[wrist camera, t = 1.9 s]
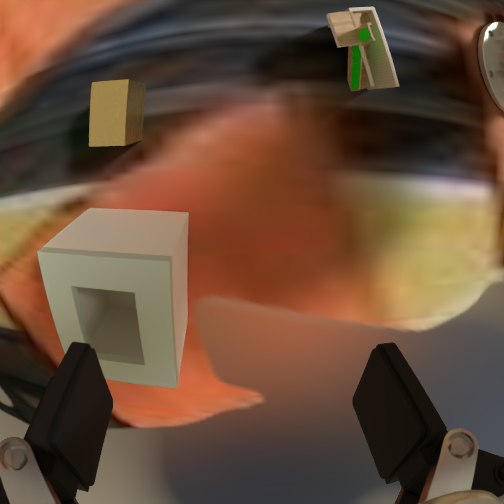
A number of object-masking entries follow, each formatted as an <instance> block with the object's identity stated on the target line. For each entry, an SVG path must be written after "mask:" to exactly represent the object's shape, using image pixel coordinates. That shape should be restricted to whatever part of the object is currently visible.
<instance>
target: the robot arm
mask: <svg viewBox="0 0 504 504" xmlns="http://www.w3.org/2000/svg"><path fill="white" fill-rule="evenodd" d="M478 56H479V64H480V68H481V73H482V76H483V79H484V82H485V84H486V87H487V89H488V91H489V93H490V95H491V97H492V98H493V100H494V102H495V103H496V104H497V106H498V107H499V108H500V109H501V110H502V111H503V112H504V23H502V22H492V23H489V24H487V25H486V26H484V28H483V29H482V30H481V33H480V36H479V42H478ZM353 407H354V409H355V412H356V414H357V417H358V420H359V422H360V425H361V427H362V430H363V433H364V435H365V438H366V440H367V443H368V446H369V448H370V451H371V453H372V456H373V459H374V462H375V464H376V467H377V470H378V472H379V475H380V477H381V478H383V479H385V481H386V484H390V483H392V482H396V481H399V482H400V484H401V489H400V492H399V494H398V496H397V498H396V501H395V503H394V504H504V458H503V457H500V456H497V455H494V454H491V453H488V452H486V451H483V450H480V449H478V443H477V440H476V438H475V437H474V435H473V434H471V433H470V432H469V431H467V430H465V429H453V430H451V431H449V432H448V431H447V430H446V426H445V424H444V423H443V421H442V419H441V418H440V416H439V414H438V412H437V411H436V409H435V407H434V405H433V404H432V402H431V400H430V399H429V397H428V395H427V394H426V392H425V390H424V389H423V387H422V385H421V384H420V382H419V380H418V379H417V377H416V376H415V374H414V372H413V371H412V369H411V367H410V366H409V365H408V363H407V361H406V360H405V358H404V357H403V355H402V353H401V352H400V350H399V349H398V347H397V346H396V344H395V343H384V344H378V345H377V346H376V348H375V349H373V350H372V352H371V355H370V357H369V360H368V362H367V365H366V368H365V370H364V373H363V375H362V377H361V380H360V382H359V385H358V387H357V389H356V392H355V394H354V396H353ZM112 408H113V399H112V396H111V394H110V391H109V388H108V386H107V383H106V380H105V377H104V375H103V372H102V369H101V366H100V363H99V360H98V357H97V354H96V351H95V349H94V348H91V346H90V344H88V343H81V342H72V343H71V344H70V346H69V348H68V350H67V352H66V354H65V356H64V358H63V360H62V362H61V364H60V366H59V368H58V370H57V372H56V374H55V376H53V377H52V378H51V379H50V381H49V383H48V385H47V387H46V389H45V391H44V393H43V395H42V398H41V400H40V402H39V404H38V406H37V409H36V411H35V413H34V415H33V418H32V420H31V422H30V425H29V427H28V430H27V432H26V434H25V437H24V439H21V438H19V437H9V438H6V439H4V440H2V441H1V442H0V504H79V503H78V502H77V500H76V498H75V497H76V493H77V489H79V490H83V491H86V492H88V490H89V486H92V485H93V484H94V482H95V477H96V473H97V469H98V464H99V460H100V455H101V451H102V447H103V443H104V439H105V435H106V431H107V427H108V423H109V419H110V416H111V412H112Z"/></svg>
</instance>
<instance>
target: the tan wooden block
mask: <svg viewBox="0 0 504 504" xmlns="http://www.w3.org/2000/svg"><path fill="white" fill-rule="evenodd" d="M145 92H146V85H144V84H141V83H138V82H135V81H132V80H129V79H128V80H114V81H102V82H92V89H91V103H90V124H89V147H93V146H125V145H128V144H131V143H134V142H137V141H141V140H142V139H143V119H144V104H145Z"/></svg>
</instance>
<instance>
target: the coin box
mask: <svg viewBox="0 0 504 504" xmlns="http://www.w3.org/2000/svg"><path fill="white" fill-rule="evenodd" d="M188 220H189V212H178V211H157V210H134V209H106V208H89V209H88V210H86V211H85V212H84V213H82V214H81V215H80V216H79V217H77V218H76V219H75V220H74V221H72V222H71V223H70V224H69V225H68V226H66V227H65V228H64V229H63V230H62V231H60V232H59V233H58V234H57V235H56V236H54V237H53V238H52V239H51V240H50V241H49V242H47V243H46V244H45V245H44V246H43V247H42V248H41V249H40V250H38V251H37V254H38V259H39V264H40V269H41V273H42V278H43V282H44V286H45V290H46V294H47V298H48V302H49V306H50V309H51V313H52V316H53V320H54V323H55V326H56V330H57V333H58V336H59V339H60V342H61V345H62V348H63V351H64V354H66V352H67V350H68V348H69V346H70V344H71V343H72V342H81V343H88V344H90V346H91V348H94V349H95V351H96V354H97V357H98V360H99V363H100V366H101V369H102V372H103V375H104V377H105V379H108V380H114V381H120V382H127V383H134V384H142V385H150V386H159V387H168V388H178V381H179V373H180V367H181V360H182V353H183V347H184V340H185V334H186V328H187V322H188Z"/></svg>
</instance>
